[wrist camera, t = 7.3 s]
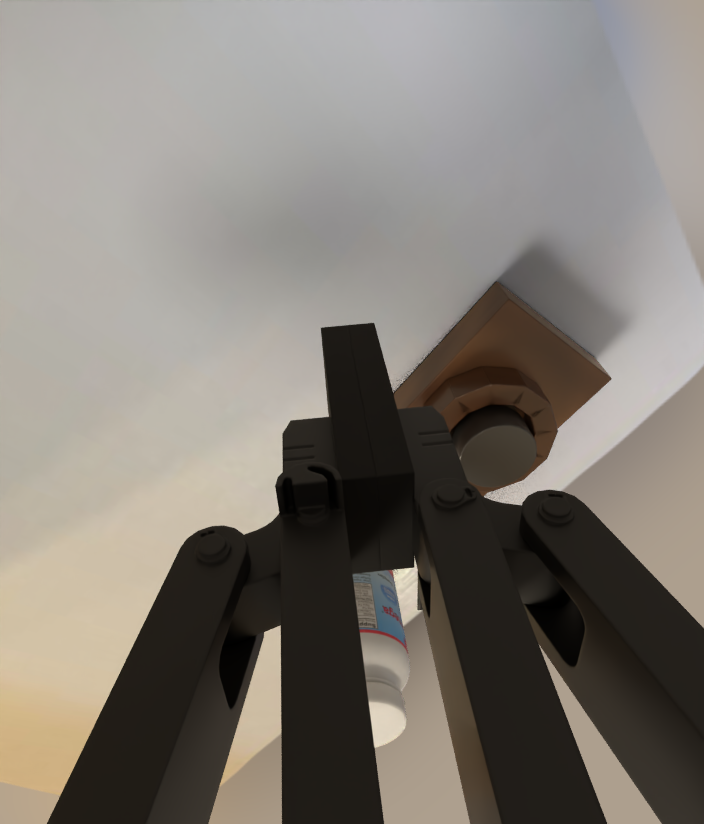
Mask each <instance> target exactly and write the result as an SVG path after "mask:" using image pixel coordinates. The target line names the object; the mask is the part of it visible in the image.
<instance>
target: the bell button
mask: <svg viewBox="0 0 704 824" xmlns="http://www.w3.org/2000/svg"><path fill="white" fill-rule="evenodd" d="M452 440H453V443H454V445H455V448H456V451H457V453H458V456H459V459H460V462H461V464H462V467H463V470H464V472H465V475H466V478H467V480H468V481H470V482H471V483H473V484H475V485H478V486H482V487H499V486H503V485H507V484H509V483H512V482H514V481H516V480H517V479H519V478H520V477H522V476H523V475H524V474H525V473H526V472H527V471H528V470H529V469H530V468H531V466H532V465H533V463H534V461H535V458H536V454H537V445H536V441H535V439H534V437H533V435H532V433H531V432H530V430H529V428H528V426H527V424H526V423H525V421H524V419H523V418H522V416H521V415H520V414H519V413H517V412H516V411H514V410H512V409H510V408H507V407H503V406H489V407H484V408H481V409H478V410H476V411H474V412H472V413H470V414H469V415H467V416H466V417H465V418H464V419H463V420H462V421H461V422H460V423H459V424H458V426H457V427H456V429H455V431H454V433H453V436H452Z"/></svg>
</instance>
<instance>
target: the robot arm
mask: <svg viewBox="0 0 704 824" xmlns="http://www.w3.org/2000/svg"><path fill="white" fill-rule="evenodd" d="M321 334H322V346H323V357H324V368H325V379H326V390H327V402H328V412H329V417H324V418H313V419H303V420H292V421H290V423H289V424H288V426H287V428H286V429H285V431H284V432H283V473H282V474H281V475H280V476H279V477H278V479H277V482H276V486H275V487H276V493H277V500H278V506H279V512H280V513H279V515H278V516H277V517H276V518H275V519H274V520H273V521H272V522H271V523H269V524H268V525H266V526H265V527H263V528H260V529H258V530H256V531H253V532H251V533H248V534H245V535H243V534H242V533H241V532H239V531H238V530H236V529H235V528H232V527H227V526H212V527H208V528H205V529H202V530H199V531H197V532H196V533H195V534H193V535H192V536H190V537H189V538H188V539H187V540H186V541H185V542H184V544H183V545H182V546H181V548H180V550H179V552H178V554H177V556H176V558H175V560H174V562H173V565H172V567H171V569H170V571H169V573H168V575H167V577H166V579H165V581H164V583H163V585H162V587H161V589H160V591H159V593H158V595H157V598H156V600H155V602H154V604H153V606H152V608H151V610H150V612H149V614H148V616H147V618H146V620H145V622H144V624H143V626H142V628H141V631H140V633H139V635H138V637H137V639H136V641H135V643H134V645H133V647H132V649H131V651H130V653H129V655H128V657H127V659H126V662H125V664H124V666H123V668H122V670H121V672H120V674H119V676H118V678H117V680H116V682H115V684H114V686H113V688H112V690H111V692H110V695H109V697H108V699H107V701H106V703H105V705H104V707H103V709H102V711H101V713H100V715H99V717H98V719H97V721H96V723H95V725H94V728H93V730H92V732H91V734H90V736H89V738H88V740H87V742H86V744H85V746H84V748H83V750H82V752H81V754H80V756H79V759H78V761H77V763H76V765H75V767H74V769H73V771H72V773H71V775H70V777H69V779H68V781H67V783H66V785H65V787H64V789H63V792H62V794H61V796H60V798H59V800H58V802H57V804H56V806H55V808H54V810H53V812H52V814H51V816H50V818H49V821H48V822H47V824H208V822H209V819H210V815H211V812H212V809H213V805H214V802H215V799H216V796H217V792H218V789H219V785H220V782H221V779H222V775H223V772H224V769H225V765H226V762H227V759H228V755H229V752H230V749H231V745H232V742H233V738H234V735H235V732H236V728H237V725H238V722H239V718H240V715H241V712H242V708H243V705H244V702H245V698H246V695H247V691H248V688H249V685H250V681H251V678H252V675H253V671H254V668H255V665H256V661H257V658H258V655H259V651H260V648H261V644H262V641H263V638H264V632H265V631H268V630H270V629H272V628H275V627H277V626H280V625H281V724H282V824H384V820H383V812H382V804H381V796H380V788H379V780H378V773H377V764H376V756H375V748H374V740H373V732H372V724H371V717H370V709H369V701H368V693H367V685H366V677H365V669H364V661H363V653H362V645H361V637H360V629H359V621H358V613H357V605H356V597H355V589H354V581H353V574H357V573H367V572H376V571H385V570H394V569H403V568H413V567H414V556H415V560H416V564H417V568H418V610H423V613H424V617H425V622H426V626H427V631H428V635H429V640H430V644H431V649H432V653H433V658H434V662H435V667H436V671H437V676H438V680H439V685H440V689H441V694H442V699H443V703H444V707H445V712H446V716H447V721H448V726H449V730H450V735H451V739H452V744H453V748H454V753H455V757H456V762H457V766H458V771H459V775H460V779H461V784H462V789H463V793H464V798H465V802H466V806H467V811H468V816H469V820H470V824H607V822H606V819H605V817H604V814H603V811H602V809H601V807H600V803H599V801H598V798H597V796H596V793H595V790H594V788H593V785H592V783H591V780H590V777H589V775H588V772H587V769H586V767H585V764H584V762H583V759H582V757H581V754H580V751H579V749H578V746H577V744H576V741H575V738H574V736H573V733H572V730H571V728H570V725H569V722H568V720H567V717H566V715H565V712H564V710H563V707H562V705H561V702H560V699H559V696H558V694H557V691H556V689H555V686H554V683H553V681H552V678H551V676H550V673H549V670H548V668H547V665H546V662H545V660H544V657H543V655H542V652H541V649H540V647H539V645H540V646H541V648H542V649H543V651H544V652H545V653H546V655H547V656H548V658H549V659H550V661H551V662H552V664H553V665H554V666H555V668H556V670H557V671H558V673H559V674H560V675H561V677H562V678H563V680H564V681H565V683H566V684H567V686H568V687H569V689H570V690H571V692H572V693H573V694H574V696H575V697H576V699H577V700H578V702H579V703H580V704H581V706H582V708H583V709H584V711H585V712H586V713H587V715H588V716H589V718H590V719H591V721H592V722H593V724H594V725H595V726H596V728H597V729H598V731H599V732H600V734H601V735H602V736H603V738H604V740H605V741H606V742H607V744H608V746H609V747H610V749H611V750H612V751H613V753H614V754H615V756H616V757H617V759H618V760H619V762H620V763H621V765H622V766H623V767H624V769H625V770H626V772H627V773H628V775H629V776H630V778H631V779H632V781H633V782H634V784H635V785H636V787H637V788H638V789H639V791H640V792H641V794H642V795H643V797H644V798H645V800H646V801H647V803H648V804H649V805H650V807H651V808H652V810H653V811H654V813H655V814H656V816H657V817H658V819H659V820H660V822H661V823H662V824H704V628H703V627H702V626H701V625H700V624H699V623H698V622H697V621H696V620H695V619H694V618H693V617H692V616H691V615H690V613H689V612H688V611H687V610H686V609H685V608H684V607H683V606H682V605H681V604H680V603H679V602H678V601H677V600H676V599H675V598H674V597H673V596H672V595H671V594H670V593H669V592H668V590H667V589H666V588H664V586H663V585H662V584H661V583H660V582H659V581H658V580H657V579H656V578H655V577H654V576H653V575H652V574H651V573H650V572H649V571H648V570H647V569H646V567H644V565H643V564H642V563H641V562H640V561H639V560H638V559H637V558H636V557H635V556H634V555H633V554H632V553H631V552H630V551H629V550H628V549H627V548H626V547H625V546H624V544H622V543H621V541H620V540H619V539H618V538H617V537H616V536H615V535H614V534H613V533H612V532H611V531H610V530H609V529H608V528H607V527H606V526H605V525H604V524H603V523H602V522H601V520H600V519H599V518H598V517H597V516H596V515H595V514H594V513H593V512H592V511H591V510H590V509H589V508H588V507H587V506H586V505H585V504H584V503H583V502H582V501H580V500H579V499H577V498H576V497H575V496H573V495H570V494H568V493H565V492H562V491H555V490H544V491H537V492H535V493H533V494H531V495H529V496H528V497H527V498H526V499H525V501H524V502H523V503H522V506H521V505H513V504H506V503H500V502H495V501H492V500H490V499H487V498H484V497H483V496H482V495H481V494H480V492H479V491H478V489H477V488H476V487H475V486H473V485H471V484H470V483H469V482H468V480H467V478H466V475H465V472H464V470H463V467H462V464H461V462H460V459H459V456H458V453H457V451H456V448H455V445H454V443H453V440H452V437H451V435H450V433H449V429H448V427H447V424H446V421H445V418H444V416H442V415H441V414H440V413H439V412H438V411H437V410H436V409H434V408H433V407H432V406H423V407H413V408H402V409H397V406H396V402H395V398H394V395H393V391H392V387H391V384H390V380H389V376H388V373H387V369H386V365H385V362H384V358H383V354H382V350H381V347H380V343H379V339H378V336H377V332H376V328H375V325H374V323H368V324H357V325H346V326H335V327H324V328H321ZM538 643H539V644H538Z"/></svg>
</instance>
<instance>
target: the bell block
mask: <svg viewBox="0 0 704 824" xmlns="http://www.w3.org/2000/svg"><path fill="white" fill-rule="evenodd" d="M610 380H611V377H610V376H609V375H608V373H607V372H606V371H605V370H604V368H603V367H602V366H601V365H600V364H599V362H598V361H597V360H596V359H595V358H594V357H593V356H591V355H590V354H589V353H588V352H586V351H585V350H584V349H582V348H581V347H580V346H579V345H577V344H576V343H575V342H574V341H572V340H571V339H570V338H569V337H567V336H566V335H565V334H563V333H562V332H561V331H560V330H558V329H557V328H556V327H555V326H553V325H552V324H551V323H549V322H548V321H547V320H546V319H544V318H543V317H542V316H541V315H539V314H538V313H537V312H536V311H534V310H533V309H532V308H530V307H529V306H528V305H527V304H525V303H524V302H523V301H522V300H520V299H519V298H518V297H516V296H515V295H514V294H513V293H511V292H510V291H509V290H508V289H506V288H505V287H504V286H503V285H501V284H500V283H499V282H496V283H495V284H494V285H493V286H492V287H491V288H490V289H489V290H488V291H487V292H486V294H485V295H484V296H483V297H482V298H481V299H480V300H479V301H478V302H477V303H476V304H475V306H474V307H473V308H472V309H471V310H470V311H469V312H468V313H467V314H466V315H465V317H464V318H463V319H462V320H461V321H460V322H459V323H458V324H457V325H456V326H455V327H454V329H453V330H452V331H451V332H450V333H449V334H448V335H447V336H446V337H445V338H444V340H443V341H442V342H441V343H440V344H439V345H438V346H437V347H436V348H435V349H434V350H433V352H432V353H431V354H430V355H429V356H428V357H427V358H426V359H425V360H424V361H423V362H422V364H421V365H420V366H419V367H418V368H417V369H416V370H415V371H414V372H413V373H412V375H411V376H410V377H409V378H408V379H407V380H406V381H405V382H404V383H403V384H402V385H401V387H400V388H399V389H398V390H397V391H396V392H395V393H394V394H393V395H394V398H395V402H396V406H397V409H402V408H413V407H423V406H432V407H433V408H434V409H436V410H437V411H438V412H439V413H440V414H441V415H442V416H444V418H445V421H446V424H447V427H448V429H449V433H450V435H451V437H452V436H453V433H454V431H455V429H456V427H457V426H458V424H459V423H460V422H461V421H462V420H463V419H464V418H465V417H466V416H467V415H469V414H470V413H472V412H474V411H476V410H478V409H481V408H484V407H489V406H503V407H507V408H510V409H512V410H514V411H516V412H517V413H519V414H520V415H521V416H522V418H523V419H524V421H525V423H526V424H527V426H528V428H529V430H530V432H531V433H532V435H533V437H534V439H535V441H536V445H537V454H536V458H535V461H534V463H533V465H532V466H531V468H530V469H529V470H528V471H527V472H526V473H525V474H524V475H523V476H522V477H520V478H519V479H517V480H516V481H514V482H512V483H509V484H507V485H503V486H499V487H482V486H478V485H475V484H473V483H471V482H470V481H468V482H469V483H470V484H471V485H473V486H475V487H476V488H477V489H478V491H479V492H480V494H481V495H482V496H484V495H486V494H487V493H488V492H491V491H494V490H497V489H500V488H503V487H505V486H508V485H511V484H514V483H516V482H519V481H522V480H524V479H525V478H526V477H527V476H528V475H529V474H530V473H531V472H533V471H534V470H535V469H536V468H537V467H538V466H539V465H540V464H542V463H543V462H544V461H545V460H546V459H547V458H548V455H549V453H550V450H551V447H552V445H553V442H554V440H555V437H556V434H557V432H558V430H557V429H558V428H559V427H560V426H561V425H562V424H563V423H564V422H565V421H566V420H567V419H569V418H570V417H571V416H572V415H573V414H574V413H575V412H576V411H577V410H578V409H579V408H581V407H582V406H583V405H584V404H585V403H586V402H587V401H588V400H589V399H590V398H591V397H593V396H594V395H595V394H596V393H597V392H598V391H599V390H600V389H601V388H602V387H603V386H605V385H606V384H607V383H608V382H609V381H610Z"/></svg>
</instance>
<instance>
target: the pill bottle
mask: <svg viewBox="0 0 704 824" xmlns="http://www.w3.org/2000/svg"><path fill="white" fill-rule="evenodd" d="M353 581H354V589H355V597H356V605H357V613H358V621H359V629H360V637H361V645H362V653H363V661H364V669H365V677H366V685H367V693H368V701H369V709H370V717H371V724H372V732H373V740H374V748H375V747H379V746H381V745H384V744H386V743H389V742H390V741H392V740H394V739H395V738H397V737H398V736H399V735H400V734H401V733H402V732H403V730H404V729H405V726H406V722H407V717H406V711H405V701H404V698H403V696H402V693H401V692H402V690H403V689H404V687H405V686H406V683H407V681H408V678H409V674H410V662H409V656H408V650H407V645H406V640H405V635H404V629H403V624H402V619H401V613H400V608H399V603H398V597H397V593H396V587H395V582H394V577H393V572H392V570H385V571H376V572H367V573H357V574H353Z"/></svg>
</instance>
